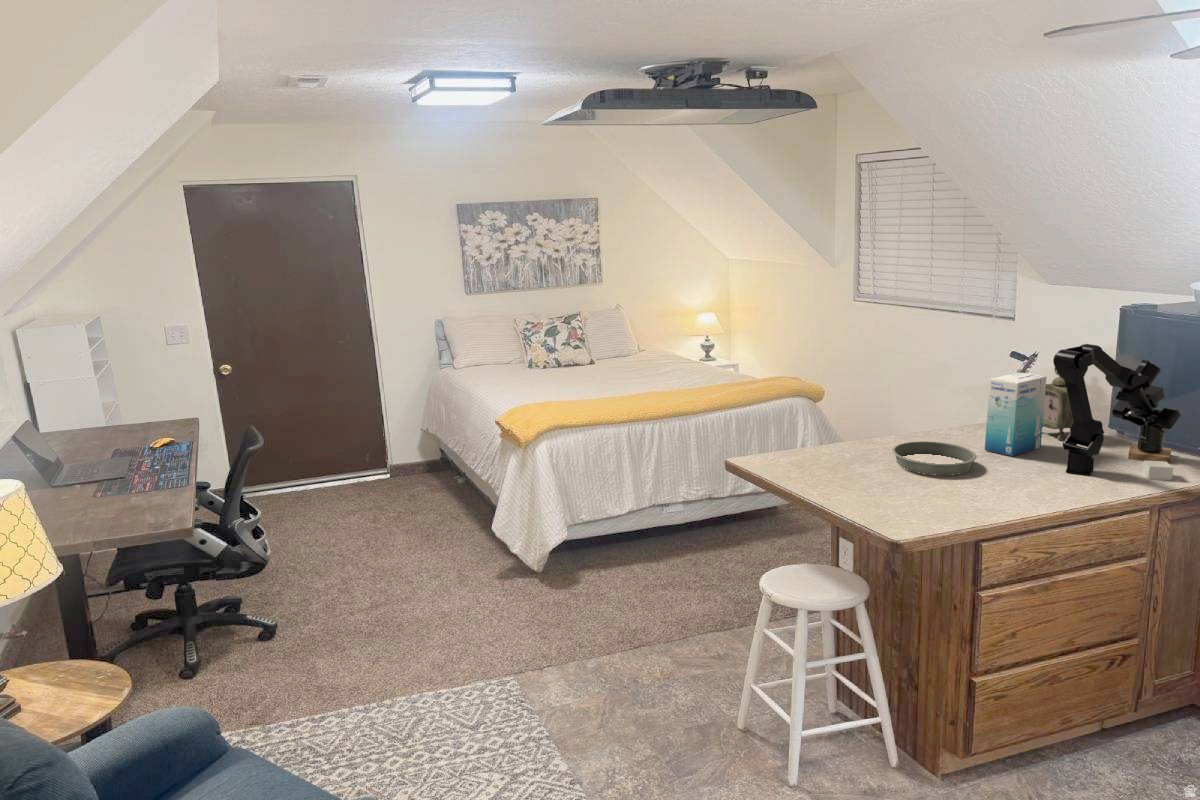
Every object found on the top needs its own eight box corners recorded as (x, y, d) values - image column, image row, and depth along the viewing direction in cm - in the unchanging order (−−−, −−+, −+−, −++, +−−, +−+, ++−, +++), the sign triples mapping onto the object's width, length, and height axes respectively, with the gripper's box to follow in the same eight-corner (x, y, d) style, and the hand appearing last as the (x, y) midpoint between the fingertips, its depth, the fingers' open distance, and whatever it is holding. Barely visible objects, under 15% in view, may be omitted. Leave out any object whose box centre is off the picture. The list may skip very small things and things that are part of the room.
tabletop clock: (1030, 431, 313) (1037, 361, 307) (1053, 429, 315) (1060, 359, 309) (1058, 442, 299) (1065, 369, 293) (1082, 440, 301) (1090, 367, 295)
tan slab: (1128, 458, 280) (1128, 452, 279) (1130, 450, 289) (1131, 444, 288) (1169, 463, 274) (1170, 457, 273) (1170, 454, 283) (1171, 448, 282)
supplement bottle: (1133, 450, 281) (1138, 413, 278) (1140, 445, 285) (1145, 409, 283) (1158, 454, 276) (1163, 416, 273) (1165, 450, 281) (1170, 413, 278)
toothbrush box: (1012, 441, 302) (1018, 370, 296) (1042, 447, 294) (1048, 375, 288) (982, 450, 292) (988, 378, 286) (1012, 457, 284) (1019, 383, 278)
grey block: (1148, 479, 261) (1150, 466, 260) (1142, 473, 266) (1143, 460, 265) (1171, 480, 259) (1173, 467, 258) (1164, 474, 265) (1166, 461, 264)
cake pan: (891, 475, 270) (892, 460, 269) (891, 452, 293) (891, 439, 292) (979, 480, 263) (980, 466, 262) (971, 457, 286) (972, 443, 285)
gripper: (1180, 384, 266) (1199, 416, 272) (1122, 373, 282) (1141, 403, 289) (1160, 412, 264) (1179, 444, 271) (1102, 400, 281) (1121, 430, 288)
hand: (1155, 429), depth 280 cm, fingers closed on supplement bottle, 7 cm apart
